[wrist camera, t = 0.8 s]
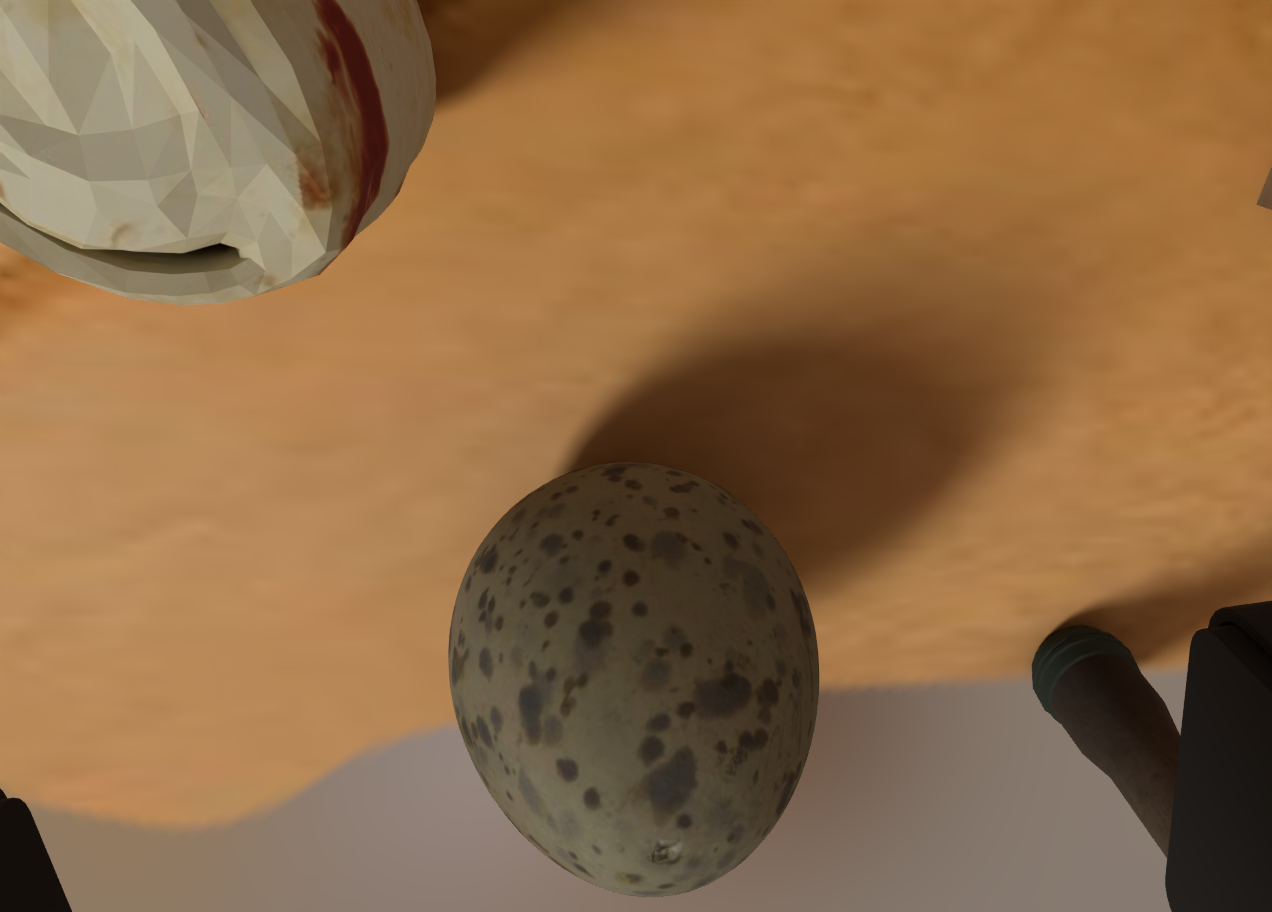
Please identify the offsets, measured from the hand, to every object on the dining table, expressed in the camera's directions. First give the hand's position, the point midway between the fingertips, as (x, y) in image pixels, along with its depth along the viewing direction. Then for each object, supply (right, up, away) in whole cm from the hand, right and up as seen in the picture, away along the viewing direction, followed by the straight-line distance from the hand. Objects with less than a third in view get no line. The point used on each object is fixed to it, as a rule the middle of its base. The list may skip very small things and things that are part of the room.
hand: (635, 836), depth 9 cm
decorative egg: (-1, 0, +31) cm, 31 cm away
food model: (-9, +16, +23) cm, 30 cm away
